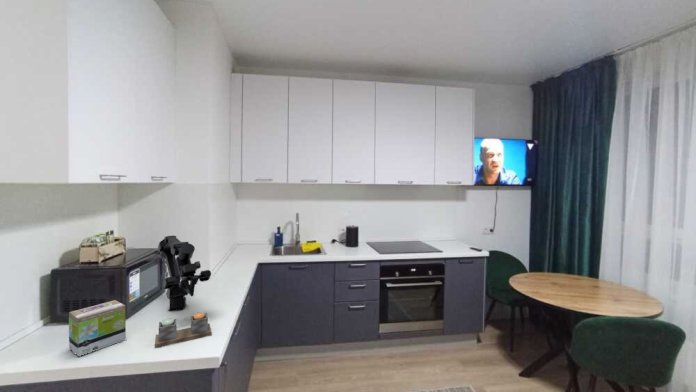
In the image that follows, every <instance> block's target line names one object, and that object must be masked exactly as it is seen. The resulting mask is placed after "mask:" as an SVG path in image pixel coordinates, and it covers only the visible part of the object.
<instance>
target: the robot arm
mask: <svg viewBox="0 0 696 392" xmlns="http://www.w3.org/2000/svg"><path fill="white" fill-rule="evenodd" d="M158 242H159V241H158ZM157 251H158V252H159V254H160V256H161V257H162V258H164V259H165V263H166V267H167V271H168V276H167V277H165V279H164V281H163V288H164V290H166V292H165V293H166V297H167V299H168V300H169V308H168V311H169V312H172V311H183V310H184V308H185V307H186V306H187V297H186V296H188V295H189V296H190V297H194V295H195V287H196V285H197V284H198V282H199V281H200V282H202V283H203V282H206V281H210V278H211V276H212V272H211V271H210V270H209V269H206V270H201V271H200V273H199V274H196V273H197V271H198V269H201V267H202V266H201V262H200V260H199V261H195V262H194V263H192V261H191V259H192V258H193V255H194V252H195V251H196V249H195V246H194V245H193V244H191V243H189V241H181V240H179V239H178V238H177V236H176V235H167V236H164V238H163V239H162V240H160V242H159V243H158V246H157Z"/></svg>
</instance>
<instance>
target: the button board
mask: <svg viewBox="0 0 696 392" xmlns="http://www.w3.org/2000/svg"><path fill="white" fill-rule="evenodd" d="M204 313H205V318H204V319H199V320H194V314H193V315H190V327H186V328H181V329H177V318H173V319H174V325H170V326H165V327H162V323H161V322H162V321H159V322H158V334H155V338H154V349H158V348H161V347H162V346H163V347H165V346H166V347H167V346H171V345H175V344H179V343H183V342H188V341H192V340H197V339H201V338H206V337H209V336H212V334H213V333H212V328H211V325H210V323H208V322H209V321H208V320H209V318H208V313H207V312H204Z"/></svg>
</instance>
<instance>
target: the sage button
mask: <svg viewBox="0 0 696 392" xmlns="http://www.w3.org/2000/svg"><path fill="white" fill-rule="evenodd" d="M174 319H175V318H173V317H167V318H164V319H162V320H161V321H160V322H161V323H162V327H165V326H170V325H174Z"/></svg>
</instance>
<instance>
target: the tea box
mask: <svg viewBox="0 0 696 392" xmlns="http://www.w3.org/2000/svg"><path fill="white" fill-rule="evenodd" d="M126 327H127V326H126V305H125V304H124V303H121V302H119V301H118V300H116V299H114V300H110V301H106V302H104V303H103V302H102V303H99V304H96V305H93V306H91V305H90V306H87V307H83V308H81V309H77V310H72V311H69V313H68V349H69V350H70V349H71V350H72V351H73V352H74V353H76V354H77V355H78V356H80V357H82V356H81V355H83V356H85V355H87V353H88V354H91V353H93V352H95V350H96V351H99V350H102V349H103V348H107V347H109V346H112V345H115V343H116V344H118V343H121V342H124V341H126V335H127V334H126V333H127V332H126V330H127V329H126ZM123 340H124V341H123ZM71 350H70V351H71ZM72 351H71V352H72ZM92 351H93V352H92ZM73 352H72V353H73ZM74 353H73V354H74ZM84 354H85V355H84ZM77 355H76V356H77ZM78 356H77V357H78Z"/></svg>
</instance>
